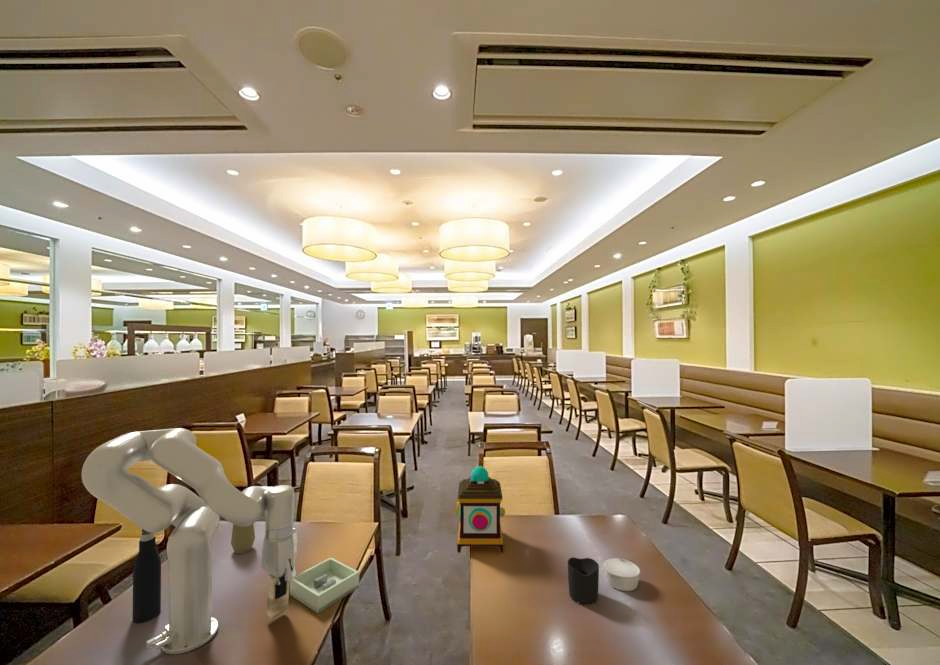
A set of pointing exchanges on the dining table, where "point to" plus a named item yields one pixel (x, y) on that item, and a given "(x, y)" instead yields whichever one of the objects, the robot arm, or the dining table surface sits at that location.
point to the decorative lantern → (479, 511)
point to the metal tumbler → (294, 550)
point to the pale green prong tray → (317, 597)
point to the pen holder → (583, 580)
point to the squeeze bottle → (242, 538)
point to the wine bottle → (146, 580)
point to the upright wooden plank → (276, 605)
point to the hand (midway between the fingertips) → (278, 594)
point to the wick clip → (323, 582)
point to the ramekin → (621, 574)
